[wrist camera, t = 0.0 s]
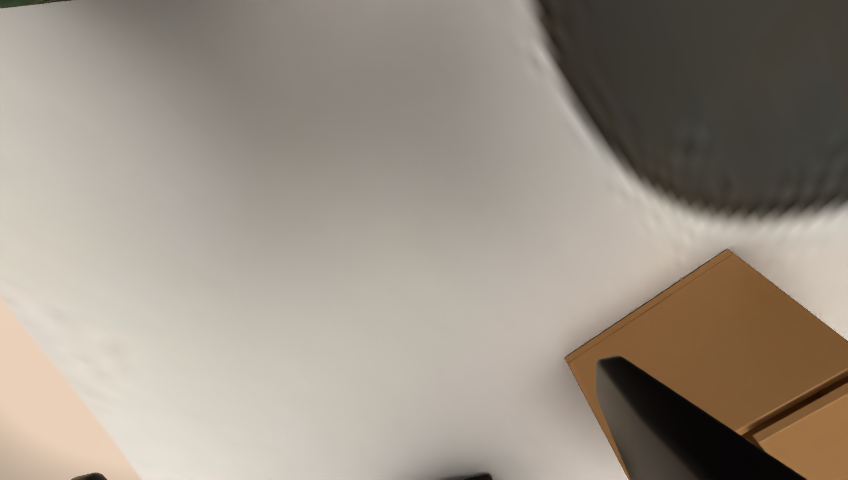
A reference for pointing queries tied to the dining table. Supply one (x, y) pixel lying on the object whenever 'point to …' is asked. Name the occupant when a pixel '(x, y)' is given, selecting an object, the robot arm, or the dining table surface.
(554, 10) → the dining table surface
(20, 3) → the coffee jar
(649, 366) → the carton
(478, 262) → the dining table surface
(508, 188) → the dining table surface
